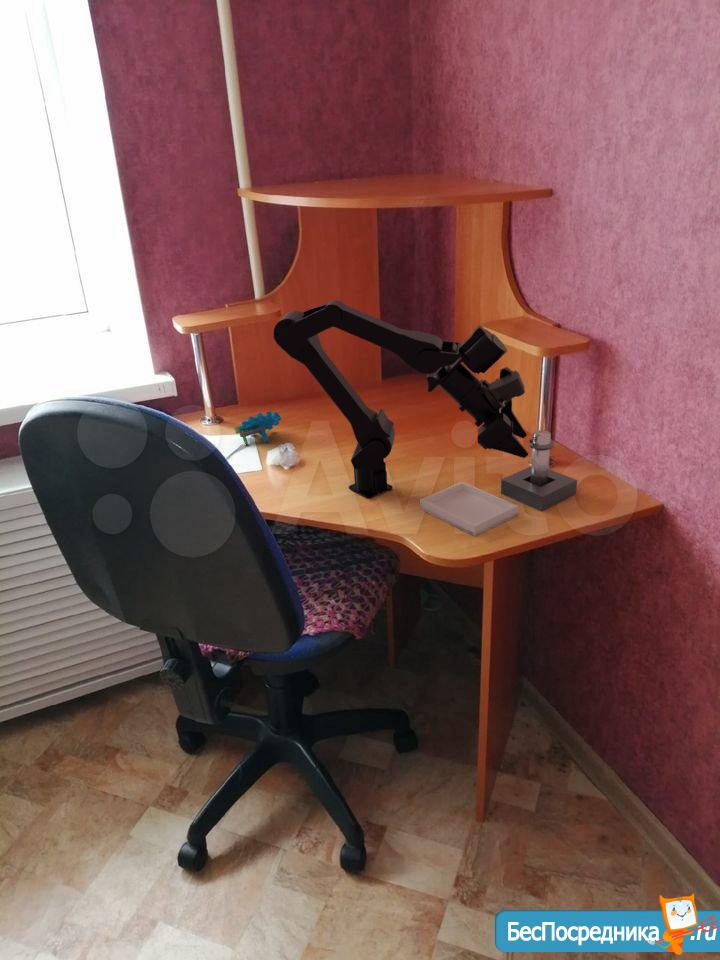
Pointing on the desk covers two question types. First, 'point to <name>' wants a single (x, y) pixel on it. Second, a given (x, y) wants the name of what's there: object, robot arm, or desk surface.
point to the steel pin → (540, 457)
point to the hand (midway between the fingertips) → (525, 446)
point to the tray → (468, 508)
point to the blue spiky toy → (258, 425)
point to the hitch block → (538, 489)
